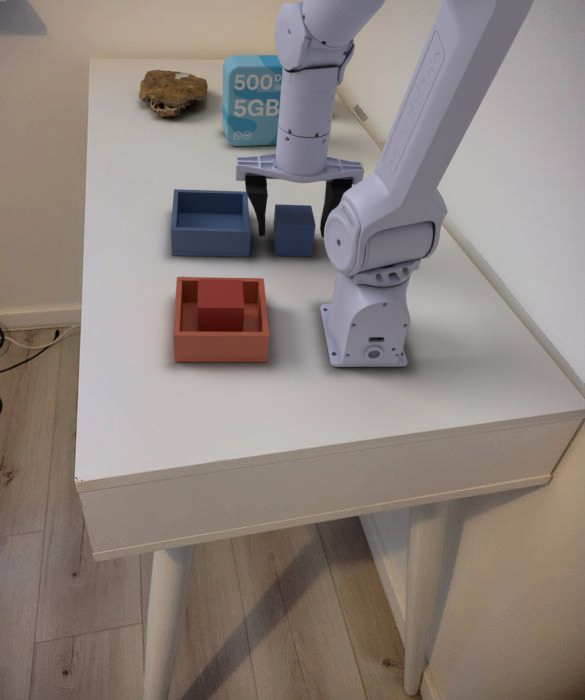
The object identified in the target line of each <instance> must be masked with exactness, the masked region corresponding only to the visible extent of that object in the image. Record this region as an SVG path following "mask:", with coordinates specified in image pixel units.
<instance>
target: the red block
mask: <svg viewBox="0 0 585 700" xmlns="http://www.w3.org/2000/svg"><path fill="white" fill-rule="evenodd" d="M243 323H244V295H243V280H217V279H198V332H243Z"/></svg>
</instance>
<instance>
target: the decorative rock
mask: <svg viewBox="0 0 585 700" xmlns="http://www.w3.org/2000/svg"><path fill="white" fill-rule="evenodd" d="M208 88H209V85H208V82H207V80H206V79H205V78H203V77H199V76H196V75H195V74H191V73H187V72H182V71H176V70H175V71H174V70H173V71H172V70H161V69H153V70H148V71H146V73H145V75H144V78H143V79H142V80H141V81H140V86H139V94H138V99H139V100H141V101H143V102H144V103H150V104H149V107H150V109H152V111H153V112H154V113H156V115H157V116H158V117H160V118H164V117H166V118H169V117H176V116H177V117H178V116H180V114H181V109H184V110H185V109H186V107H187V106H189V107H191V105H192V104H193V103H194V101H206V100H207V97H208Z"/></svg>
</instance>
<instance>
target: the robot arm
mask: <svg viewBox="0 0 585 700" xmlns="http://www.w3.org/2000/svg"><path fill="white" fill-rule="evenodd" d="M534 1H535V0H442V1H441V4H440V6H439V9H438V11H437V14H436V16H435V19H434V21H433V24H432V26H431V29H430V31H429V34H428V36H427V39H426V41H425V43H424V45H423V48H422V51H421V53H420V56H419V59H418V61H417V63H416V66H415V69H414V70H413V73H412V75H411V78H410V80H409V84H408V85H407V88H406V91H405V93H404V95H403V98H402V100H401V103H400V106H399V108H398V111H397V113H396V116H395V118H394V120H393V122H392V126H391V129H390V131H389V133H388V135H387V138H386V141H385V143H384V145H383V148H382V150H381V152H380V155H379V158H378V161H377V163H376V165H375V168H374V171H373V172H371V174H369V175H368V176H367V177H365V178H364V175H365V167H364V165H363V162H362V161H354V160H353V161H352V160H348V159H341V158H338V157H337V158H336V157H332V156H328V151H329V144H330V139H331V138H330V137H331V130H332V123H333V116H334V115H333V114H334V107H335V102H336V101H335V100H336V93H337V87H338V86H340V85H341V84H342V82H343V81H344V76H345V70H346V67H347V66H348V65H349V63H350V62H351V61H352V58H353V55H354V52H355V48H356V43H354V41H355V37H357V35H358V34H359V33H360V32H361V31H362V30H363V28H364V27H365V26H366V25H367V24H368V23H369V22H370V20H371V19H373V17H374V16H375V15H376V14H377V13H378V12H379V10H380V9H381V8H382V7H383V6H384V4H385V2H386V0H302V1H295V2H285V3H283V4H282V5H281V6H280V8H279V11H278V13H277V15H276V18H275V24H274V33H273V34H274V35H273V37H274V47H275V52H276V55H277V56H278V59H279V61H280V63H281V65H282V66H283V70H282V83H281V96H280V108H279V120H278V133H277V145H275V147H276V148H275V152H273V153H266V154H258V155H252V156H236V157H235V164H234V165H235V167H234V169H235V171H234V175H235V181H236V182H237V181H240V182H244V184H245V185H244V187H245V192H247V195H248V200H249V202H250V204H251V206H252V209H253V210H254V213H255V216H256V220H257V225H258V227H257V229H258V236H259V237H266V233H267V232H266V231H267V229H266V227H267V225H266V224H267V223H266V213H267V204H268V197H269V194H268V193H269V192H268V181H267V180H283V181H287V182H291V183H297V184H312V183H318V182H319V183H320V182H325V190H324V191H325V192H324V200H323V201H324V202H323V206H322V213H321V217H320V222H319V223H320V224H319V231H320V235H321V238H322V239H323V242H324V247H325V251H326V255H327V257H328V259H329V261H330V263H331V264H332V266H333V267H334V268H335V269H336V275H335V280H334V287H333V293H332V297H331V302H330V303H322V304H320V308H319V310H320V315H321V322H322V326H323V331H324V336H325V342H326V347H327V353H328V357H329V363H330V366H332V367H335V368H336V367H337V368H339V367H340V368H346V367H347V368H348V367H349V368H351V367H352V368H355V367H357V368H358V367H359V368H361V367H362V368H365V367H367V368H368V367H370V368H371V367H373V368H374V367H375V368H377V367H378V368H380V367H381V368H382V367H385V368H386V367H387V368H389V367H390V368H393V367H395V368H397V367H398V368H399V367H406V366H407V365H408V358H407V355H406V351H405V349H404V345H405V342H406V339H407V335H408V333H409V329H410V325H411V315H410V311H409V308H408V302H407V291H408V287H409V283H410V279H411V276H412V274H413V273H414V272H415V271H418V270H419V268H420V264H421V260H423V259H428V258H430V257H431V256H432V255H433V254H434V253H435V252H436V250H437V248H438V246H439V242H440V237H441V228H442V225H443V222H444V220H445V218H446V217H447V214H448V212H449V211H448V208H447V205H446V203H445V200H444V198H443V196H442V193H441V192H440V191H439V189H438V187H439V185H440V183H441V181H442V179H443V177H444V175H445V173H446V171H447V170H448V167H449V166H450V163H451V162H452V160H453V158H454V156H455V155H456V152H457V150H458V149H459V146H460V145H461V143H462V141H463V139H464V137H465V135H466V133H467V131H468V129H469V128H470V126H471V124H472V123H473V122H472V121H473V120H474V118H475V116H476V114H477V112H478V110H479V108H480V106H481V104H482V102H483V100H484V98H485V97H486V95H487V93H488V91H489V89H490V87H491V85H492V83H493V82H494V79H495V77H496V76H497V74H498V73H499V70H500V68H501V66H502V64H503V63H504V60H505V59H506V56H507V55H508V53H509V51H510V49H511V47H512V45H513V43H514V41H515V39H516V37H517V36H518V34H519V32H520V30H521V28H522V26H523V24H524V22H525V20H526V18H527V17H528V14H529V13H530V11H531V9H532V6H533V3H534Z"/></svg>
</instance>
